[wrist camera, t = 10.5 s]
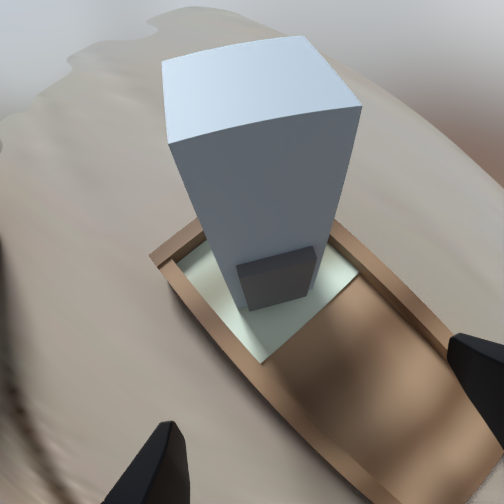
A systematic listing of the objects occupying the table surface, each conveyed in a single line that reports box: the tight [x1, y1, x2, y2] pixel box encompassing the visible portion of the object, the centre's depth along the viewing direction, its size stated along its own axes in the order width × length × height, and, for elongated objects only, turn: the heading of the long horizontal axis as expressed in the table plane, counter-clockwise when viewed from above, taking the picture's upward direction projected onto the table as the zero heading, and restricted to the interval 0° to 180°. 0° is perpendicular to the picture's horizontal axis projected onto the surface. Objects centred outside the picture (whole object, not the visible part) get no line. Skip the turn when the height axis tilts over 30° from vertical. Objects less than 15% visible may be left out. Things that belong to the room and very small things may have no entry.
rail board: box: [149, 217, 504, 504], centre depth 17 cm, size 26×10×3 cm, turn 41°
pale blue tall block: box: [162, 35, 362, 312], centre depth 13 cm, size 5×4×13 cm
